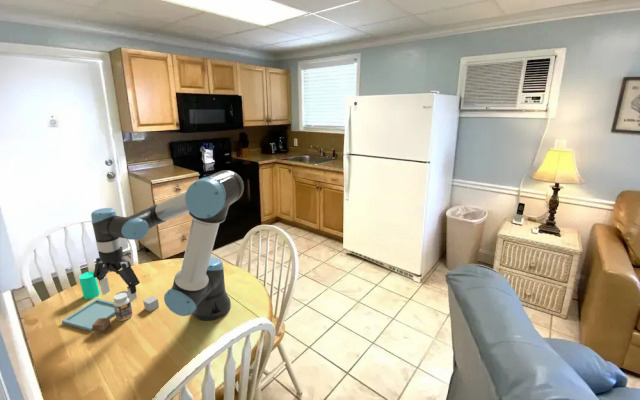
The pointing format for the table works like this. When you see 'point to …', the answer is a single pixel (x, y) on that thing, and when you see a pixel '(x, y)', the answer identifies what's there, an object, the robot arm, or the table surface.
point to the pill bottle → (122, 307)
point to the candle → (89, 285)
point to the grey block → (151, 303)
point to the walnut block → (101, 325)
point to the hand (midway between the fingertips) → (119, 296)
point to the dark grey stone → (124, 292)
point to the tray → (90, 314)
